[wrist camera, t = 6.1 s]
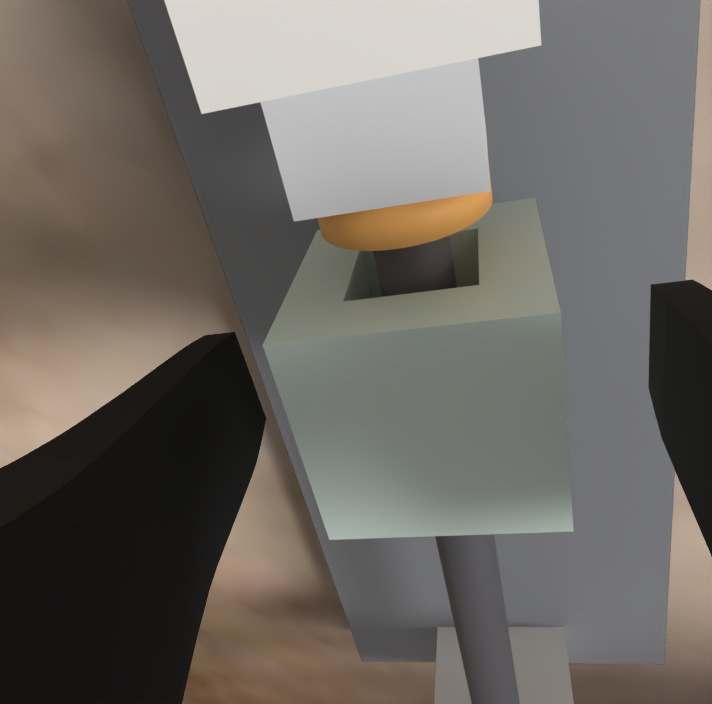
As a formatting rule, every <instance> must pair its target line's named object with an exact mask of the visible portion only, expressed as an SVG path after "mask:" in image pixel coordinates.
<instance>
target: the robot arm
mask: <svg viewBox="0 0 712 704" xmlns="http://www.w3.org/2000/svg"><path fill="white" fill-rule="evenodd" d="M648 388H649V392H650V396H651V400H652V404H653V408H654V412H655V416H656V419H657V423H658V426H659V430H660V434H661V437H662V440H663V443H664V445H665V447H666V450H667V452H668V455H669V457H670V459H671V462H672V464H673V467H674V469H675V471H676V474H677V476H678V478H679V481H680V483H681V485H682V488H683V490H684V492H685V495H686V497H687V499H688V502H689V504H690V506H691V509H692V511H693V513H694V516H695V518H696V520H697V523H698V525H699V527H700V530H701V532H702V534H703V537H704V539H705V541H706V544H707V546H708V548H709V551H710V553H711V556H712V290H710V289H708V288H707V287H705V286H703V285H701V284H700V283H698V282H696V281H694V280H686V281H677V282H668V283H660V284H651V297H650V340H649V384H648ZM265 421H266V417H265V414H264V411H263V409H262V406H261V403H260V400H259V398H258V395H257V392H256V389H255V386H254V384H253V381H252V378H251V375H250V373H249V370H248V367H247V364H246V362H245V359H244V356H243V353H242V351H241V348H240V345H239V342H238V340H237V337H236V334H235V332H231V333H222V334H213V335H205V336H203V337H201V338H199V339H198V340H196V341H194V342H193V343H191V344H189V345H188V346H186V347H185V348H183V349H182V350H181V351H179V352H178V353H176V354H175V355H173V356H172V357H171V358H169V359H168V360H167V361H165V362H164V363H162V364H161V365H160V366H158V367H157V368H156V369H154V370H153V371H152V372H150V373H149V374H147V375H146V376H145V377H143V378H142V379H141V380H139V381H138V382H137V383H135V384H134V385H132V386H131V387H130V388H128V389H127V390H126V391H124V392H123V393H122V394H120V395H119V396H117V397H116V398H114V399H113V400H111V401H110V402H109V403H107V404H106V405H104V406H103V407H101V408H100V409H98V410H97V411H95V412H94V413H92V414H91V415H90V416H88V417H87V418H85V419H84V420H82V421H81V422H79V423H78V424H76V425H75V426H73V427H72V428H70V429H69V430H67V431H65V432H64V433H62V434H61V435H59V436H57V437H56V438H54V439H52V440H51V441H49V442H47V443H46V444H44V445H42V446H40V447H39V448H37V449H35V450H33V451H32V452H30V453H28V454H26V455H25V456H23V457H21V458H19V459H17V460H16V461H14V462H12V463H10V464H8V465H6V466H4V467H2V468H0V704H182V701H183V696H184V691H185V687H186V683H187V678H188V674H189V670H190V665H191V661H192V657H193V652H194V648H195V644H196V639H197V635H198V631H199V628H200V624H201V620H202V616H203V612H204V609H205V605H206V601H207V597H208V593H209V590H210V586H211V583H212V580H213V577H214V574H215V571H216V568H217V565H218V563H219V560H220V557H221V555H222V552H223V550H224V547H225V545H226V542H227V539H228V537H229V534H230V532H231V529H232V526H233V524H234V521H235V519H236V516H237V514H238V511H239V508H240V506H241V503H242V501H243V498H244V495H245V493H246V490H247V487H248V485H249V482H250V479H251V477H252V474H253V471H254V468H255V466H256V462H257V458H258V454H259V450H260V446H261V441H262V436H263V431H264V426H265Z"/></svg>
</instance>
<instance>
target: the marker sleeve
mask: <svg viewBox="0 0 712 704" xmlns="http://www.w3.org/2000/svg"><path fill="white" fill-rule="evenodd" d="M449 237H450V244H451V251H452V257H453V264H454V271H455V277H456V284H457V288H450V289H442V290H434V291H425V292H417V293H409V294H401V295H393V296H384V297H383V296H382V292H381V287H380V283H379V278H378V274H377V269H376V264H375V260H374V255H373V251H357V250H349V249H343V248H340V247H336V246H334V245H332V244H330V243H328V242H327V241H325V239H324V238H323V237H322V234H321V231H320V230H317V232H316V234H315V236H314V238H313V240H312V242H311V244H310V246H309V249H308V251H307V253H306V255H305V257H304V259H303V261H302V263H301V265H300V267H299V270H298V272H297V274H296V276H295V278H294V280H293V282H292V284H291V286H290V288H289V291H288V293H287V295H286V297H285V299H284V301H283V303H282V305H281V307H280V310H279V312H278V314H277V316H276V318H275V320H274V322H273V324H272V326H271V328H270V331H269V333H268V335H267V337H266V339H265V341H264V343H263V348H264V351H265V354H266V357H267V360H268V362H269V365H270V368H271V371H272V374H273V377H274V380H275V383H276V386H277V389H278V392H279V395H280V397H281V400H282V403H283V406H284V409H285V412H286V415H287V418H288V421H289V424H290V427H291V430H292V432H293V435H294V438H295V441H296V444H297V447H298V450H299V453H300V456H301V459H302V462H303V465H304V467H305V470H306V473H307V476H308V479H309V482H310V485H311V488H312V491H313V494H314V497H315V500H316V502H317V505H318V508H319V511H320V514H321V517H322V520H323V523H324V526H325V529H326V532H327V534H328V537H329V540H340V539H370V538H399V537H428V536H458V535H487V534H516V533H546V532H574V529H573V512H572V495H571V478H570V461H569V444H568V427H567V409H566V392H565V375H564V358H563V341H562V324H561V311H560V307H559V302H558V298H557V293H556V289H555V284H554V280H553V275H552V271H551V266H550V262H549V257H548V253H547V248H546V244H545V239H544V235H543V230H542V226H541V221H540V217H539V212H538V208H537V203H536V199H535V197H534V198H527V199H521V200H514V201H507V202H501V203H494V204H492V205H491V207H490V209H489V210H488V212H487V213H486V214H485V215H484V216H483V217H482V218H480V219H479V220H478V221H476V222H475V223H473V224H472V225H470V226H468V227H467V228H465V229H463V230H461V231H459V232H457V233H454V234H452V235H449Z"/></svg>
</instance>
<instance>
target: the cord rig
mask: <svg viewBox="0 0 712 704" xmlns="http://www.w3.org/2000/svg"><path fill="white" fill-rule="evenodd" d="M127 1H128V4H129V7H130V10H131V12H132V15H133V18H134V21H135V24H136V26H137V29H138V32H139V35H140V38H141V41H142V43H143V46H144V49H145V52H146V55H147V57H148V60H149V63H150V66H151V69H152V72H153V74H154V77H155V80H156V83H157V86H158V88H159V91H160V94H161V97H162V100H163V102H164V105H165V108H166V111H167V114H168V117H169V119H170V122H171V125H172V128H173V131H174V133H175V136H176V139H177V142H178V145H179V148H180V150H181V153H182V156H183V159H184V162H185V164H186V167H187V170H188V173H189V176H190V178H191V181H192V184H193V187H194V190H195V193H196V195H197V198H198V201H199V204H200V207H201V209H202V212H203V215H204V218H205V221H206V224H207V226H208V229H209V232H210V235H211V238H212V240H213V243H214V246H215V249H216V252H217V255H218V257H219V260H220V263H221V266H222V269H223V271H224V274H225V277H226V280H227V283H228V285H229V288H230V291H231V294H232V297H233V300H234V302H235V305H236V308H237V311H238V314H239V316H240V319H241V322H242V325H243V328H244V331H245V333H246V336H247V339H248V342H249V345H250V347H251V350H252V353H253V356H254V359H255V361H256V364H257V367H258V370H259V373H260V376H261V378H262V381H263V384H264V387H265V390H266V392H267V395H268V398H269V401H270V404H271V407H272V409H273V412H274V415H275V418H276V421H277V423H278V426H279V429H280V432H281V435H282V438H283V440H284V443H285V446H286V449H287V452H288V454H289V457H290V460H291V463H292V466H293V468H294V471H295V474H296V477H297V480H298V483H299V485H300V488H301V491H302V494H303V497H304V499H305V502H306V505H307V508H308V511H309V514H310V516H311V519H312V522H313V525H314V528H315V530H316V533H317V536H318V539H319V542H320V544H321V547H322V550H323V553H324V556H325V559H326V561H327V564H328V567H329V570H330V573H331V575H332V578H333V581H334V584H335V587H336V590H337V592H338V595H339V598H340V601H341V604H342V606H343V609H344V612H345V615H346V618H347V620H348V623H349V626H350V629H351V632H352V635H353V637H354V640H355V643H356V646H357V649H358V651H359V654H360V657H361V660H362V661H380V662H436V673H435V695H434V704H574V701H573V693H572V685H571V677H570V670H569V664H653V665H664V661H665V643H666V624H667V606H668V588H669V569H670V551H671V533H672V514H673V496H674V478H675V469H674V467H673V464H672V462H671V459H670V457H669V455H668V452H667V450H666V447H665V445H664V443H663V440H662V437H661V434H660V430H659V426H658V423H657V419H656V416H655V412H654V408H653V404H652V400H651V396H650V392H649V388H648V384H649V340H650V297H651V284H660V283H668V282H677V281H685V276H686V257H687V239H688V221H689V202H690V184H691V166H692V147H693V129H694V110H695V92H696V74H697V55H698V37H699V19H700V0H127ZM534 197H535V199H536V203H537V208H538V212H539V217H540V221H541V226H542V230H543V235H544V239H545V244H546V248H547V253H548V257H549V262H550V266H551V271H552V275H553V280H554V284H555V289H556V293H557V298H558V302H559V307H560V311H561V324H562V341H563V358H564V375H565V392H566V409H567V427H568V444H569V461H570V478H571V495H572V512H573V529H574V532H546V533H516V534H487V535H458V536H428V537H399V538H370V539H340V540H329V537H328V534H327V532H326V529H325V526H324V523H323V520H322V517H321V514H320V511H319V508H318V505H317V502H316V500H315V497H314V494H313V491H312V488H311V485H310V482H309V479H308V476H307V473H306V470H305V467H304V465H303V462H302V459H301V456H300V453H299V450H298V447H297V444H296V441H295V438H294V435H293V432H292V430H291V427H290V424H289V421H288V418H287V415H286V412H285V409H284V406H283V403H282V400H281V397H280V395H279V392H278V389H277V386H276V383H275V380H274V377H273V374H272V371H271V368H270V365H269V362H268V360H267V357H266V354H265V351H264V348H263V343H264V341H265V339H266V337H267V335H268V333H269V331H270V328H271V326H272V324H273V322H274V320H275V318H276V316H277V314H278V312H279V310H280V307H281V305H282V303H283V301H284V299H285V297H286V295H287V293H288V291H289V288H290V286H291V284H292V282H293V280H294V278H295V276H296V274H297V272H298V270H299V267H300V265H301V263H302V261H303V259H304V257H305V255H306V253H307V251H308V249H309V246H310V244H311V242H312V240H313V238H314V236H315V234H316V232H317V230H320V231H321V234H322V237H323V238H324V239H325V241H327V242H328V243H330V244H332V245H334V246H336V247H340V248H343V249H349V250H357V251H373V255H374V260H375V264H376V269H377V274H378V278H379V283H380V287H381V292H382V296H383V297H384V296H393V295H401V294H409V293H417V292H425V291H434V290H442V289H450V288H457V284H456V277H455V271H454V264H453V257H452V251H451V244H450V237H449V235H452V234H454V233H457V232H459V231H461V230H463V229H465V228H467V227H468V226H470V225H472V224H473V223H475V222H476V221H478V220H479V219H480V218H482V217H483V216H484V215H485V214H486V213H487V212H488V210H489V209H490V207H491V205H492V204H494V203H501V202H507V201H514V200H521V199H527V198H534Z"/></svg>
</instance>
